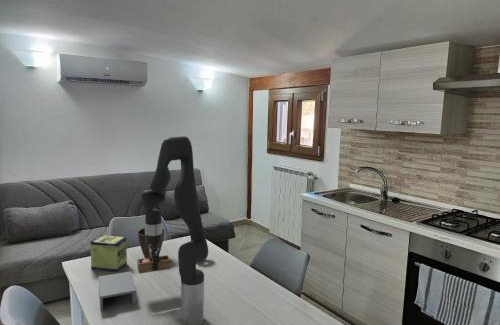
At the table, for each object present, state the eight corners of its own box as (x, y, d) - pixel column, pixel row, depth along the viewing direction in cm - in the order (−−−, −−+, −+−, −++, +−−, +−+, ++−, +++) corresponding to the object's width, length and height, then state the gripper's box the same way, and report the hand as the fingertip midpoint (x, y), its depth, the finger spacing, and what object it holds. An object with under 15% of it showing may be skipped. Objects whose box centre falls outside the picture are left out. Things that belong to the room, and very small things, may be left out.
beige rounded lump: (142, 270, 159) (142, 262, 158) (141, 267, 162) (141, 259, 161) (150, 269, 160) (150, 261, 160) (149, 266, 163) (149, 258, 163)
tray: (170, 268, 163) (170, 259, 162) (139, 273, 157) (138, 264, 157) (167, 264, 168) (167, 255, 167) (137, 268, 162) (137, 259, 162)
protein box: (117, 272, 185) (117, 243, 183) (90, 269, 187) (89, 241, 185) (127, 263, 195) (127, 237, 193) (101, 261, 197) (100, 234, 195)
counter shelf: (136, 304, 154) (135, 290, 153) (100, 311, 148) (99, 296, 147) (131, 284, 172) (130, 271, 171) (99, 289, 166) (98, 276, 165)
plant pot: (138, 253, 209) (137, 227, 207) (163, 251, 214) (163, 226, 211) (138, 264, 195) (137, 236, 193) (165, 261, 199) (165, 234, 197)
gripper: (142, 228, 165) (143, 262, 167) (147, 238, 152) (148, 275, 154) (159, 226, 168) (159, 260, 171) (165, 236, 155) (165, 272, 158)
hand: (154, 267), depth 162 cm, fingers closed on tray, 5 cm apart
